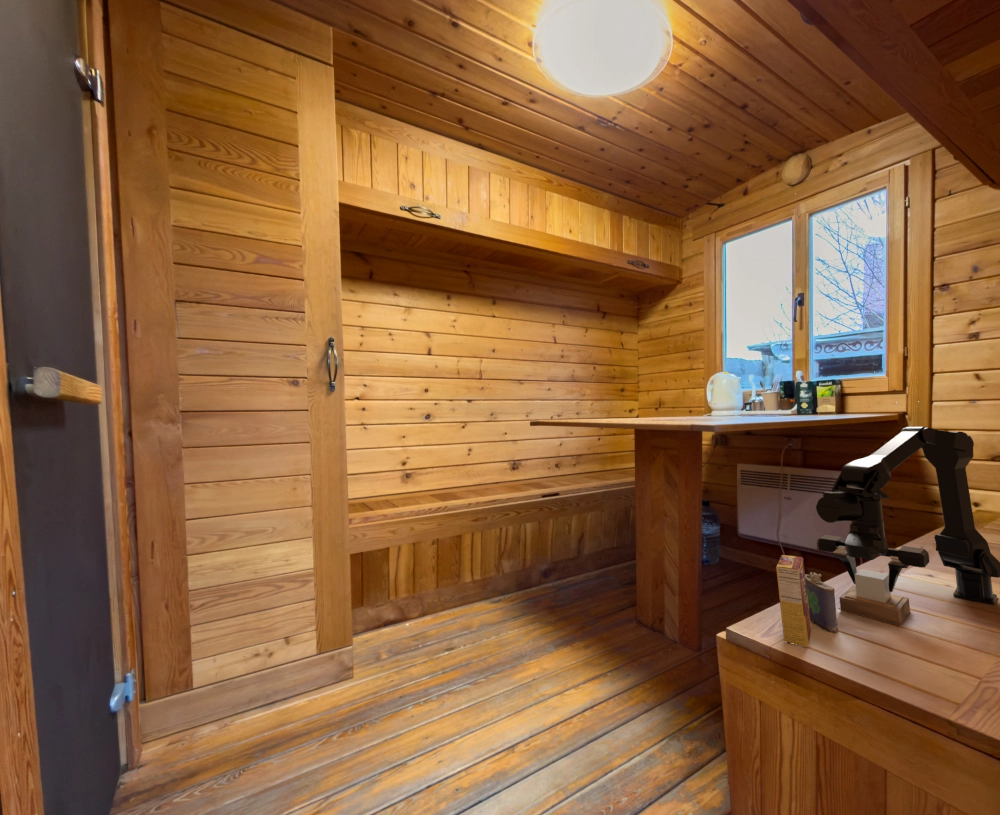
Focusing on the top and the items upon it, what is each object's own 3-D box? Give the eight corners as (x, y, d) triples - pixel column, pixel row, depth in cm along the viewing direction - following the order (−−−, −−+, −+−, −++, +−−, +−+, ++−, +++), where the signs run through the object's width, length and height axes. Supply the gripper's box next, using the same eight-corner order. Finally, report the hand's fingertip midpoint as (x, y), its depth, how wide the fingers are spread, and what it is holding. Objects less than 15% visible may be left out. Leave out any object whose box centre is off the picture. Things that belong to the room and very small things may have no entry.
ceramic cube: (862, 590, 99) (860, 568, 100) (891, 596, 95) (889, 574, 96) (856, 596, 96) (854, 574, 97) (885, 602, 92) (883, 579, 93)
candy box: (787, 625, 91) (781, 554, 92) (811, 630, 89) (805, 557, 89) (781, 642, 84) (775, 565, 85) (808, 648, 82) (801, 569, 82)
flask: (841, 633, 87) (836, 580, 87) (825, 633, 87) (820, 580, 88) (814, 613, 96) (810, 565, 97) (800, 613, 96) (796, 566, 97)
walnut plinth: (853, 598, 103) (852, 584, 103) (910, 611, 95) (908, 596, 95) (840, 610, 97) (839, 596, 97) (899, 625, 89) (897, 609, 89)
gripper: (805, 519, 99) (811, 586, 99) (915, 532, 84) (922, 611, 84) (822, 511, 106) (827, 574, 105) (926, 522, 91) (933, 595, 90)
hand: (872, 587), depth 96 cm, fingers open, 6 cm apart
